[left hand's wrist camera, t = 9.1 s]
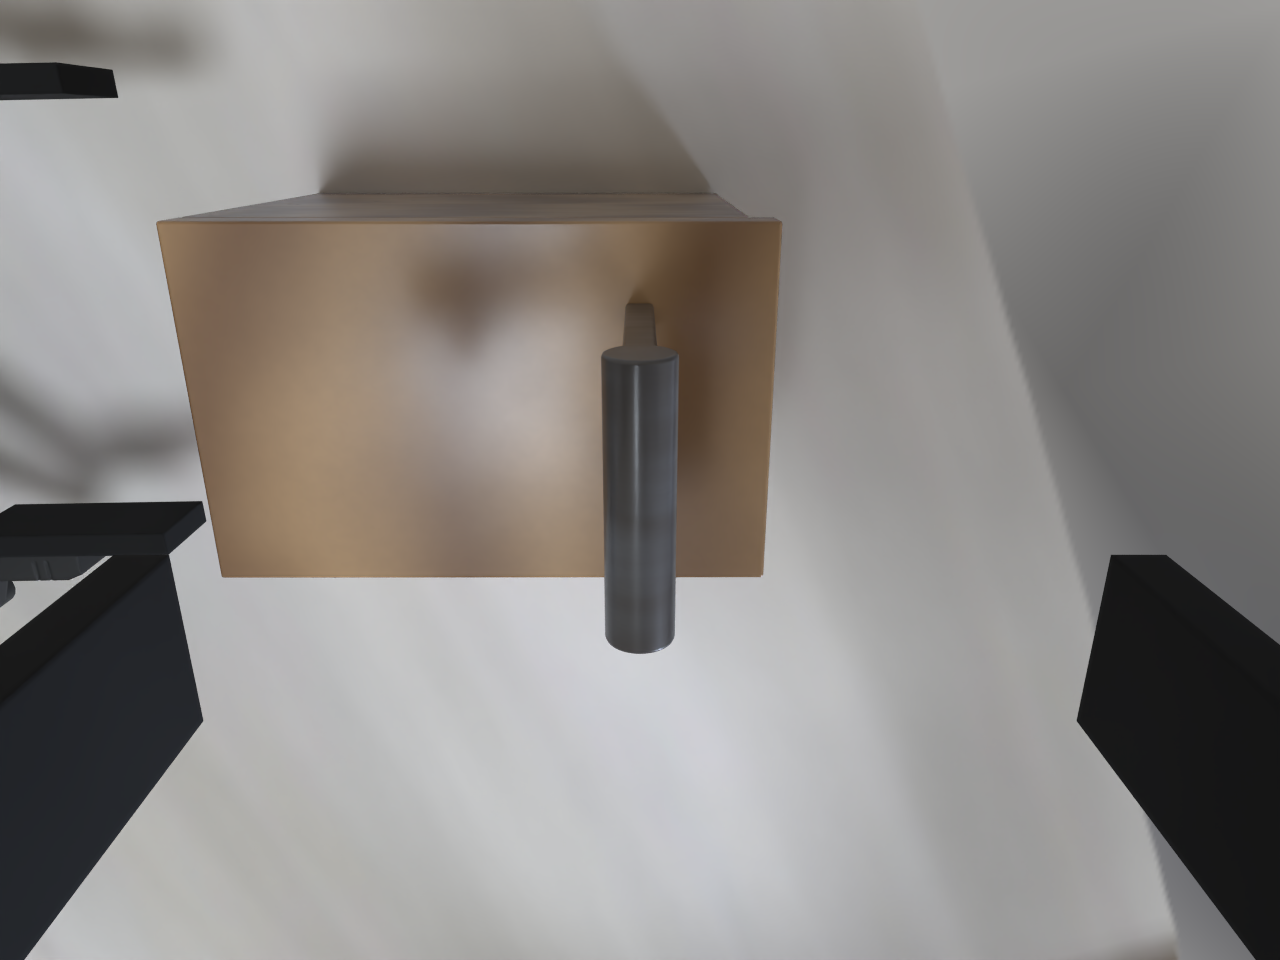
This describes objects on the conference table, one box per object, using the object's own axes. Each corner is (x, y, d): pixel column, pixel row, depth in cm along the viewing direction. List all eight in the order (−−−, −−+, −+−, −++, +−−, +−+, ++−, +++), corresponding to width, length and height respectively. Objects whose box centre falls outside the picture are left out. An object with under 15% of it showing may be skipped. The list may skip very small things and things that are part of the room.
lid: (776, 217, 23) (844, 256, 15) (758, 560, 26) (807, 730, 19) (177, 217, 23) (-52, 256, 15) (238, 560, 26) (76, 731, 19)
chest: (717, 193, 33) (751, 217, 23) (709, 444, 36) (736, 559, 26) (317, 193, 33) (178, 217, 23) (348, 444, 36) (238, 559, 26)
